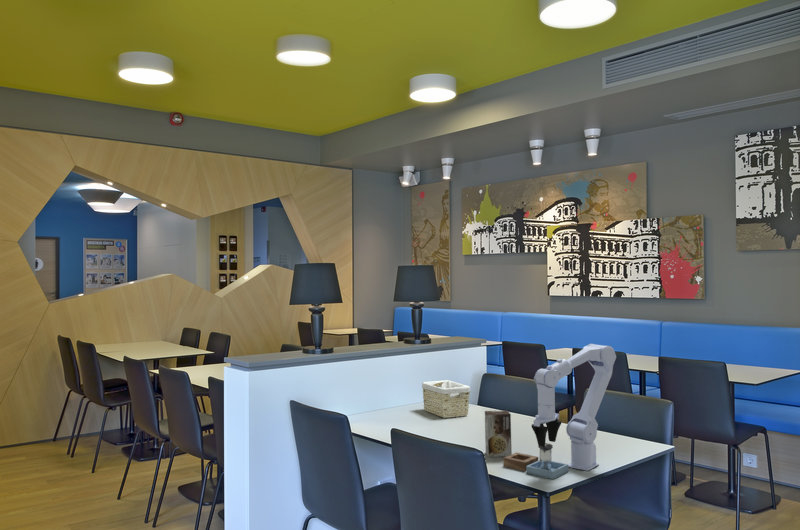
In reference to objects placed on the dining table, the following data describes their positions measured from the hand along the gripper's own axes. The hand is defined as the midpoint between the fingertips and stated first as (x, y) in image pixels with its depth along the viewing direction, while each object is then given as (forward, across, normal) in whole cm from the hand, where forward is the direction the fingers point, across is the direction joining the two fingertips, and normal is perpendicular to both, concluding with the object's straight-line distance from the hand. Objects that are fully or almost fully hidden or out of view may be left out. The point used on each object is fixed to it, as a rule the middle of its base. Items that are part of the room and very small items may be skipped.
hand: (546, 443), depth 216 cm
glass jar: (+9, 0, -1) cm, 9 cm away
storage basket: (+10, -54, -85) cm, 101 cm away
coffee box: (+10, -8, -25) cm, 28 cm away
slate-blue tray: (+10, 0, 0) cm, 10 cm away
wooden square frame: (+10, -1, -11) cm, 15 cm away
